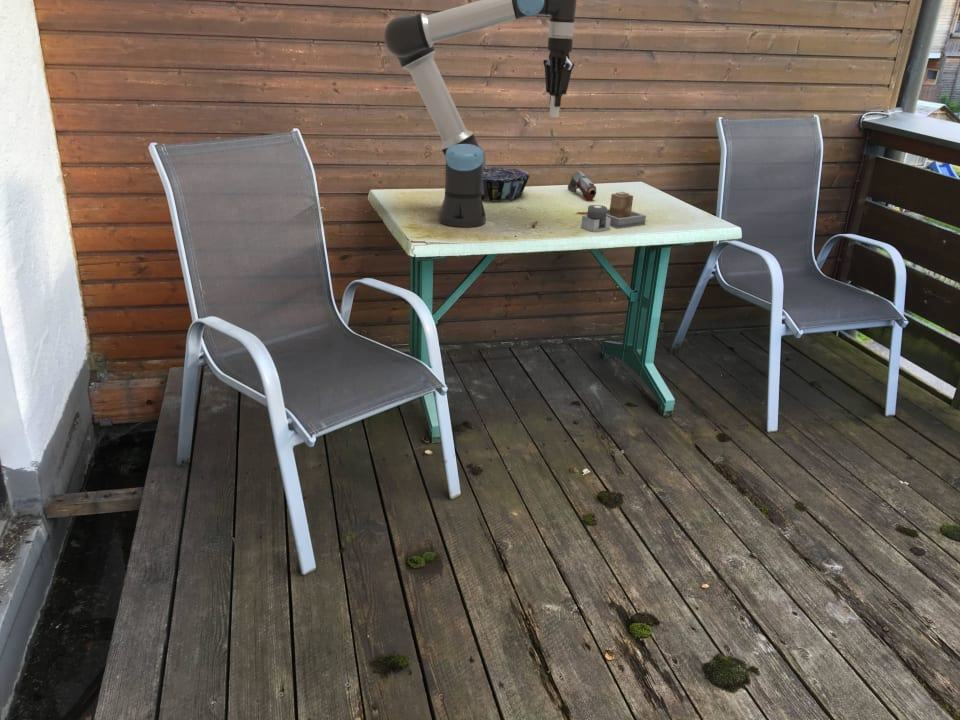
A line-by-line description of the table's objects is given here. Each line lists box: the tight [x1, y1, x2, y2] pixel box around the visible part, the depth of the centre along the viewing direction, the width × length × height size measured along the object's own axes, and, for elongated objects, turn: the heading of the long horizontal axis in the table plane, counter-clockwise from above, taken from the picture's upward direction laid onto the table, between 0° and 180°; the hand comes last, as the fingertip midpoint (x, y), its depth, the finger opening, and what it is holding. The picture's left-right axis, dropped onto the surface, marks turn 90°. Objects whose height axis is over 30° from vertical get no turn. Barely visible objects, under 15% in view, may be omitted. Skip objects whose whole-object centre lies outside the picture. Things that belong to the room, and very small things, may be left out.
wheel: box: [586, 204, 608, 219], centre depth 247 cm, size 6×6×6 cm
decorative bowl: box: [481, 166, 531, 202], centre depth 283 cm, size 26×28×10 cm
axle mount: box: [580, 215, 611, 233], centre depth 247 cm, size 7×6×4 cm
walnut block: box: [609, 191, 634, 218], centre depth 255 cm, size 5×5×9 cm
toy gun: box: [567, 170, 597, 202], centre depth 290 cm, size 4×20×10 cm, turn 17°
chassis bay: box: [606, 208, 647, 229], centre depth 256 cm, size 12×12×3 cm
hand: (553, 116), depth 247 cm, fingers closed
